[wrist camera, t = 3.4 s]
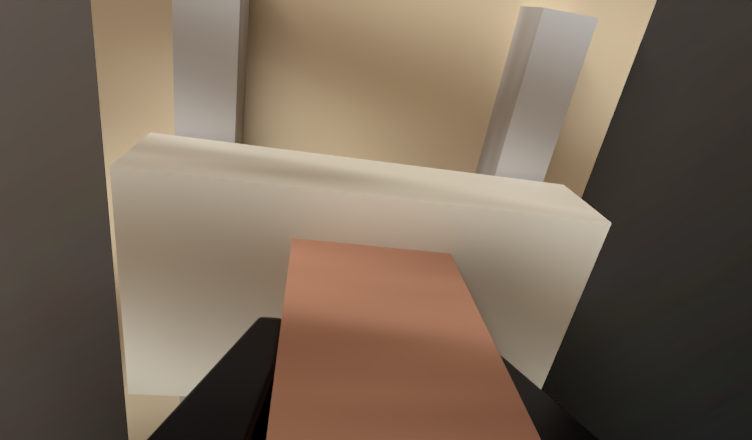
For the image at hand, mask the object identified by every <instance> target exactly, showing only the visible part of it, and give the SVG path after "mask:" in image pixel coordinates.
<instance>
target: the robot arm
mask: <svg viewBox="0 0 752 440" xmlns="http://www.w3.org/2000/svg"><path fill="white" fill-rule="evenodd" d="M281 320H282V319H281V318H274V317H260V318H258V319H257V320H256V321H255V322H254V323H253V324H252V325H251V327H250V328H249V329H248V330H247V331H246V332H245V333H244V334H243V335H242V336H241V337H240V339H239V340H238V341H237V342H236V343H235V344H234V345H233V346H232V347H231V348H230V349H229V351H228V352H227V353H226V354H225V355H224V356H223V357H222V358H221V359H220V360H219V361H218V363H217V364H216V365H215V366H214V367H213V368H212V369H211V370H210V371H209V372H208V373H207V375H206V376H205V377H204V378H203V379H202V380H201V381H200V382H199V383H198V384H197V385H196V387H195V388H194V389H193V390H192V391H191V392H190V393H189V394H188V395H187V396H186V397H185V399H184V400H183V401H182V402H181V403H180V404H179V405H178V406H177V407H176V408H175V409H174V411H173V412H172V413H171V414H170V415H169V416H168V417H167V418H166V419H165V420H164V421H163V423H162V424H161V425H160V426H159V427H158V428H157V429H156V430H155V431H154V432H153V433H152V435H151V436H150V437H149V438H148V439H147V440H266V436H267V429H268V421H269V413H270V405H271V397H272V390H273V382H274V374H275V366H276V359H277V351H278V343H279V335H280V327H281ZM500 356H501V355H500ZM501 358H502V360H503V362H504V364H505V366H506V369H507V371H508V373H509V375H510V377H511V379H512V381H513V383H514V385H515V387H516V389H517V391H518V393H519V395H520V397H521V399H522V401H523V404H524V406H525V408H526V410H527V412H528V414H529V416H530V418H531V420H532V422H533V424H534V426H535V428H536V430H537V432H538V434H539V437H540V439H541V440H599V439H598V438H597V437H596V436H595V435H593V434H592V433H591V432H590V431H589V430H588V429H586V428H585V427H584V426H583V425H582V424H581V423H579V422H578V421H577V420H576V419H575V418H574V417H572V416H571V415H570V414H569V413H568V412H567V411H565V410H564V409H563V408H562V407H561V406H560V405H558V404H557V403H556V402H555V401H554V400H553V399H551V398H550V397H549V396H548V395H547V394H546V393H544V392H543V391H542V390H541V389H540V388H539V387H537V386H536V385H535V384H534V383H533V382H532V381H530V380H529V379H528V378H527V377H526V376H525V375H523V374H522V373H521V372H520V371H519V370H518V369H516V368H515V367H514V366H513V365H512V364H511V363H509V362H508V361H507V360H506V359H505V358H504V357H502V356H501Z"/></svg>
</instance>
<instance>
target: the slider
mask: <svg viewBox="0 0 752 440" xmlns="http://www.w3.org/2000/svg"><path fill="white" fill-rule="evenodd" d="M109 168H110V180H111V192H112V204H113V216H114V228H115V240H116V253H117V265H118V277H119V289H120V301H121V313H122V326H123V338H124V350H125V362H126V374H127V386H128V394H140V395H164V396H187V395H188V394H189V393H190V392H191V391H192V390H193V389H194V388H195V387H196V385H197V384H198V383H199V382H200V381H201V380H202V379H203V378H204V377H205V376H206V375H207V373H208V372H209V371H210V370H211V369H212V368H213V367H214V366H215V365H216V364H217V363H218V361H219V360H220V359H221V358H222V357H223V356H224V355H225V354H226V353H227V352H228V351H229V349H230V348H231V347H232V346H233V345H234V344H235V343H236V342H237V341H238V340H239V339H240V337H241V336H242V335H243V334H244V333H245V332H246V331H247V330H248V329H249V328H250V327H251V325H252V324H253V323H254V322H255V321H256V320H257V319H258V318H260V317H274V318H281V319H282V320H281V327H280V335H279V343H278V351H277V359H276V366H275V374H274V382H273V390H272V397H271V405H270V413H269V421H268V429H267V436H266V440H541V439H540V437H539V434H538V432H537V430H536V428H535V426H534V424H533V422H532V420H531V418H530V416H529V414H528V412H527V410H526V408H525V406H524V404H523V401H522V399H521V397H520V395H519V393H518V391H517V389H516V387H515V385H514V383H513V381H512V379H511V377H510V375H509V373H508V371H507V369H506V366H505V364H504V362H503V360H502V358H501V356H502V357H504V358H505V359H506V360H507V361H508V362H509V363H511V364H512V365H513V366H514V367H515V368H516V369H518V370H519V371H520V372H521V373H522V374H523V375H525V376H526V377H527V378H528V379H529V380H530V381H532V382H533V383H534V384H535V385H536V386H537V387H539V388H540V389H542V387H543V384H544V382H545V380H546V377H547V375H548V373H549V370H550V368H551V365H552V363H553V361H554V358H555V356H556V354H557V351H558V349H559V346H560V344H561V342H562V339H563V337H564V335H565V332H566V330H567V327H568V325H569V323H570V320H571V318H572V316H573V313H574V311H575V309H576V306H577V304H578V301H579V299H580V297H581V294H582V292H583V290H584V287H585V285H586V282H587V280H588V278H589V275H590V273H591V271H592V268H593V266H594V264H595V261H596V259H597V256H598V254H599V252H600V249H601V247H602V245H603V242H604V240H605V237H606V235H607V233H608V230H609V228H610V226H611V222H610V221H608V220H607V219H606V218H605V217H603V216H602V215H601V214H600V213H598V212H597V211H596V210H595V209H593V208H592V207H591V206H590V205H589V204H587V203H586V202H585V201H584V200H582V199H581V198H580V197H579V196H577V195H576V194H575V193H574V192H572V191H571V190H570V189H569V188H567V187H566V186H565V185H563V184H555V183H547V182H539V181H531V180H524V179H516V178H508V177H500V176H492V175H484V174H476V173H468V172H460V171H452V170H444V169H437V168H429V167H421V166H413V165H405V164H397V163H389V162H381V161H373V160H365V159H357V158H349V157H342V156H334V155H326V154H318V153H310V152H302V151H294V150H286V149H278V148H270V147H262V146H255V145H247V144H239V143H231V142H223V141H215V140H207V139H199V138H191V137H183V136H175V135H168V134H160V133H152V132H150V133H149V134H148V135H147V136H145V137H144V138H143V139H142V140H141V141H139V142H138V143H137V144H136V145H134V146H133V147H132V148H131V149H129V150H128V151H127V152H126V153H125V154H123V155H122V156H121V157H120V158H118V159H117V160H116V161H115V162H113V163H112V164H111V165H110V166H109ZM500 355H501V356H500Z"/></svg>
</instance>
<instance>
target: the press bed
mask: <svg viewBox="0 0 752 440" xmlns="http://www.w3.org/2000/svg"><path fill="white" fill-rule="evenodd" d="M656 1H657V0H91V10H92V21H93V33H94V45H95V56H96V68H97V79H98V91H99V102H100V114H101V126H102V137H103V149H104V160H105V172H106V183H107V195H108V207H109V218H110V230H111V241H112V253H113V264H114V276H115V288H116V299H117V311H118V322H119V334H120V345H121V357H122V369H123V380H124V392H125V403H126V415H127V426H128V438H129V440H147V439H148V438H149V437H150V436H151V435H152V433H153V432H154V431H155V430H156V429H157V428H158V427H159V426H160V425H161V424H162V423H163V421H164V420H165V419H166V418H167V417H168V416H169V415H170V414H171V413H172V412H173V411H174V409H175V408H176V407H177V406H178V405H179V404H180V403H181V402H182V401H183V400H184V399H185V397H186V396H164V395H140V394H128V386H127V374H126V362H125V350H124V338H123V326H122V313H121V301H120V289H119V277H118V265H117V253H116V240H115V228H114V216H113V204H112V192H111V180H110V168H109V166H110V165H111V164H112V163H113V162H115V161H116V160H117V159H118V158H120V157H121V156H122V155H123V154H125V153H126V152H127V151H128V150H129V149H131V148H132V147H133V146H134V145H136V144H137V143H138V142H139V141H141V140H142V139H143V138H144V137H145V136H147V135H148V134H149V133H150V132H152V133H160V134H168V135H175V136H183V137H191V138H199V139H207V140H215V141H223V142H231V143H239V144H247V145H255V146H262V147H270V148H278V149H286V150H294V151H302V152H310V153H318V154H326V155H334V156H342V157H349V158H357V159H365V160H373V161H381V162H389V163H397V164H405V165H413V166H421V167H429V168H437V169H444V170H452V171H460V172H468V173H476V174H484V175H492V176H500V177H508V178H516V179H524V180H531V181H539V182H547V183H555V184H563V185H565V186H566V187H567V188H569V189H570V190H571V191H572V192H574V193H575V194H576V195H577V196H579V197H580V198H581V197H582V195H583V192H584V190H585V187H586V184H587V182H588V179H589V176H590V174H591V171H592V169H593V166H594V163H595V161H596V158H597V155H598V153H599V150H600V148H601V145H602V142H603V140H604V137H605V135H606V132H607V129H608V127H609V124H610V121H611V119H612V116H613V114H614V111H615V108H616V106H617V103H618V100H619V98H620V95H621V93H622V90H623V87H624V85H625V82H626V79H627V77H628V74H629V72H630V69H631V66H632V64H633V61H634V59H635V56H636V53H637V51H638V48H639V45H640V43H641V40H642V38H643V35H644V32H645V30H646V27H647V24H648V22H649V19H650V17H651V14H652V11H653V9H654V6H655V3H656Z"/></svg>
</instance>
